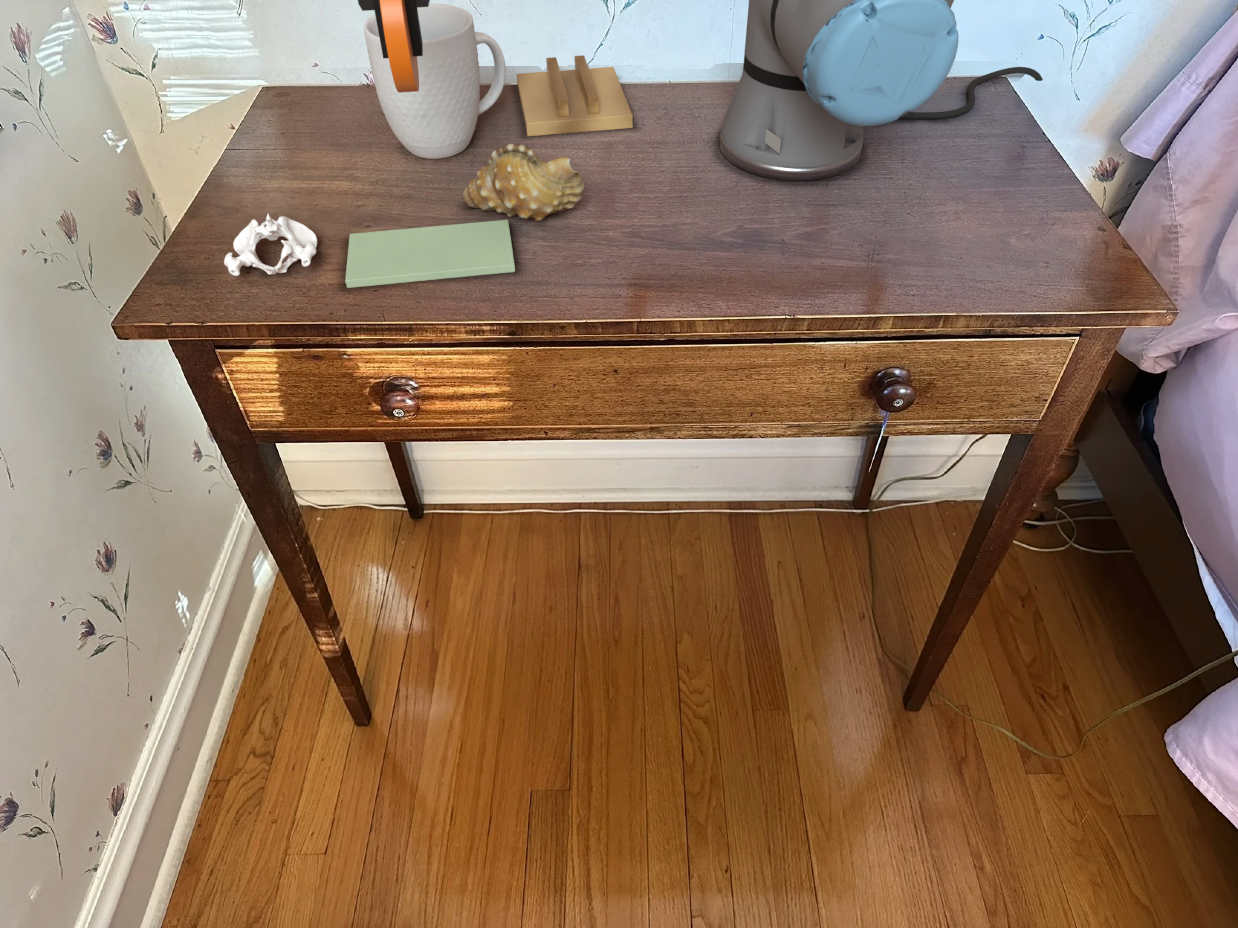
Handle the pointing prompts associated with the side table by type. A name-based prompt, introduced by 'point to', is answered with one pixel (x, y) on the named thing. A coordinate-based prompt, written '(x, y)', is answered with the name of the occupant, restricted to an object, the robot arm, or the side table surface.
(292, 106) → the side table surface
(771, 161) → the robot arm
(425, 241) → the mat
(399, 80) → the disc
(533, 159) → the seashell
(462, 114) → the mug
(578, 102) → the rack
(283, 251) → the anatomical pelvis
